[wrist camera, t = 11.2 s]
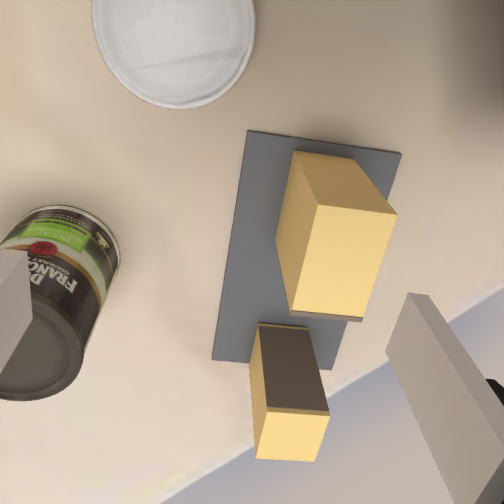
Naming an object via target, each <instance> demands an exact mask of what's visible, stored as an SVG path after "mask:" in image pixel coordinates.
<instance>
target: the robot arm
mask: <svg viewBox="0 0 504 504" xmlns="http://www.w3.org/2000/svg"><path fill="white" fill-rule="evenodd" d="M32 319H33V316H32V304H31V292H30V280H29V268H28V256H27V251H21V250H12V249H3V248H2V249H1V250H0V373H1V372H2V370H3V368H4V367H5V365H6V363H7V362H8V360H9V358H10V356H11V355H12V353H13V351H14V350H15V348H16V346H17V345H18V343H19V341H20V339H21V338H22V336H23V334H24V333H25V331H26V329H27V328H28V326H29V324H30V323H31V321H32ZM385 352H386V354H387V356H388V358H389V361H390V363H391V365H392V367H393V369H394V372H395V374H396V376H397V378H398V380H399V383H400V385H401V387H402V389H403V391H404V394H405V396H406V398H407V400H408V402H409V405H410V407H411V409H412V411H413V413H414V415H415V418H416V420H417V422H418V424H419V427H420V429H421V431H422V433H423V436H424V438H425V440H426V442H427V444H428V447H429V449H430V451H431V453H432V455H433V458H434V460H435V462H436V464H437V466H438V469H439V470H440V473H441V475H442V477H443V480H444V482H445V484H446V486H447V488H448V491H449V493H450V495H451V497H452V499H453V501H454V504H504V388H503V387H502V386H501V385H500V384H499V383H498V382H497V381H495V380H493V379H485V378H484V377H483V375H482V374H481V372H480V371H479V369H478V368H477V366H476V365H475V364H474V362H473V361H472V359H471V357H470V356H469V355H468V353H467V352H466V351H465V349H464V347H463V346H462V344H461V343H460V341H459V340H458V338H457V337H456V336H455V334H454V333H453V331H452V330H451V328H450V327H449V325H448V324H447V322H446V321H445V319H444V318H443V316H442V315H441V313H440V312H439V310H438V309H437V308H436V306H435V305H434V303H433V302H432V300H431V299H430V297H429V296H428V295H423V294H414V293H408V294H407V297H406V299H405V302H404V305H403V307H402V310H401V312H400V315H399V317H398V320H397V322H396V325H395V328H394V330H393V333H392V335H391V338H390V340H389V343H388V345H387V348H386V351H385Z"/></svg>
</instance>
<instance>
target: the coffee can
mask: <svg viewBox="0 0 504 504" xmlns="http://www.w3.org/2000/svg"><path fill="white" fill-rule="evenodd" d="M2 248H3V249H12V250H21V251H27V256H28V268H29V280H30V292H31V304H32V316H33V319H32V321H31V323H30V324H29V326H28V328H27V329H26V331H25V333H24V334H23V336H22V338H21V339H20V341H19V343H18V345H17V346H16V348H15V350H14V351H13V353H12V355H11V356H10V358H9V360H8V362H7V363H6V365H5V367H4V368H3V370H2V372H1V373H0V399H3V400H9V401H32V400H39V399H44V398H47V397H50V396H52V395H55V394H57V393H59V392H60V391H62V390H64V389H65V388H66V387H68V386H69V385H70V384H71V383H72V382H73V381H74V380H75V378H76V377H77V375H78V373H79V371H80V369H81V366H82V363H83V358H84V353H85V350H86V348H87V345H88V343H89V340H90V338H91V335H92V333H93V330H94V328H95V325H96V323H97V320H98V318H99V315H100V313H101V310H102V307H103V305H104V302H105V300H106V297H107V295H108V292H109V290H110V287H111V285H112V282H113V280H114V278H115V276H116V274H117V272H118V269H119V265H120V253H119V248H118V245H117V242H116V240H115V238H114V236H113V235H112V233H111V232H110V230H109V229H108V228H107V227H106V226H105V225H104V224H103V223H102V222H101V221H100V220H98V219H97V218H96V217H94V216H92V215H91V214H89V213H87V212H85V211H82V210H80V209H77V208H74V207H69V206H60V205H53V206H46V207H42V208H39V209H36V210H34V211H32V212H30V213H28V214H27V215H25V216H24V217H23V218H22V219H21V220H20V221H19V223H18V224H17V225H16V227H15V228H14V229H13V230H12V231H11V232H10V233H9V234H8V235H7V237H6V238H5V239H4V240H3V241H2V242H1V243H0V250H1V249H2Z"/></svg>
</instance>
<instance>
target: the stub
mask: <svg viewBox="0 0 504 504" xmlns="http://www.w3.org/2000/svg"><path fill="white" fill-rule="evenodd" d="M249 370H250V384H251V399H252V413H253V428H254V443H255V457H256V458H261V459H278V460H295V461H312V462H314V461H315V458H316V455H317V453H318V450H319V447H320V444H321V441H322V438H323V435H324V433H325V430H326V427H327V424H328V421H329V418H330V414H329V408H328V405H327V401H326V397H325V393H324V389H323V385H322V381H321V377H320V373H319V369H318V365H317V361H316V357H315V353H314V349H313V345H312V341H311V337H310V333H309V330H308V328H303V327H293V326H282V325H272V324H262V323H258V326H257V330H256V335H255V340H254V345H253V349H252V354H251V359H250V364H249Z"/></svg>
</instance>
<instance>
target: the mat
mask: <svg viewBox="0 0 504 504" xmlns="http://www.w3.org/2000/svg"><path fill="white" fill-rule="evenodd" d="M294 150H295V151H302V152H309V153H316V154H323V155H330V156H337V157H343V158H350V159H354V160H355V161H356V163H357V164H358V165H359V166H360V168H361V169H362V170H363V172H364V173H365V174H366V175H367V177H368V178H369V179H370V180H371V182H372V183H373V184H374V185H375V187H376V188H377V189H378V191H379V192H380V193H381V194H382V196H383V197H384V198H385V199H386V201H387V199H388V196H389V193H390V190H391V187H392V184H393V181H394V178H395V175H396V171H397V168H398V165H399V162H400V159H401V156H402V154H400V153H396V152H389V151H382V150H376V149H369V148H362V147H356V146H349V145H342V144H335V143H329V142H322V141H315V140H309V139H302V138H295V137H289V136H282V135H275V134H268V133H262V132H255V131H247V137H246V144H245V150H244V156H243V163H242V169H241V175H240V182H239V188H238V195H237V201H236V207H235V214H234V220H233V226H232V233H231V239H230V245H229V252H228V258H227V265H226V271H225V277H224V284H223V290H222V296H221V303H220V309H219V315H218V322H217V328H216V335H215V341H214V347H213V354H212V360H217V361H229V362H241V363H250V359H251V354H252V349H253V345H254V340H255V335H256V330H257V326H258V323H262V324H272V325H282V326H293V327H303V328H308V330H309V333H310V337H311V341H312V345H313V349H314V353H315V357H316V361H317V365H318V369H323V370H332V367H333V364H334V361H335V358H336V355H337V352H338V349H339V346H340V343H341V340H342V337H343V334H344V331H345V328H346V325H347V321H343V320H333V319H323V318H313V317H303V316H293V315H290V312H289V307H288V302H287V297H286V293H285V288H284V283H283V278H282V273H281V268H280V264H279V259H278V254H277V249H276V244H275V237H276V232H277V228H278V223H279V218H280V213H281V208H282V204H283V199H284V194H285V189H286V185H287V180H288V175H289V170H290V166H291V161H292V156H293V151H294Z"/></svg>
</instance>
